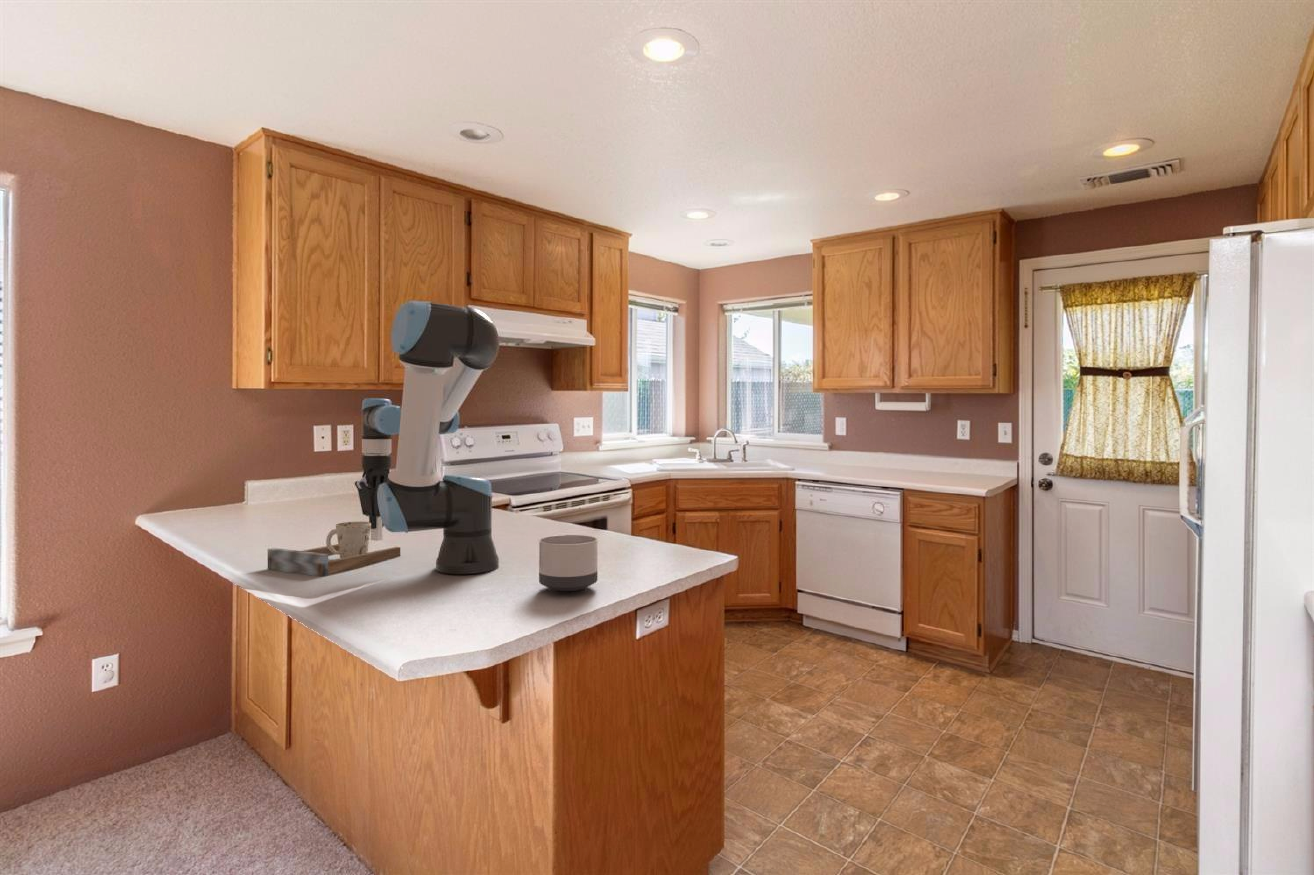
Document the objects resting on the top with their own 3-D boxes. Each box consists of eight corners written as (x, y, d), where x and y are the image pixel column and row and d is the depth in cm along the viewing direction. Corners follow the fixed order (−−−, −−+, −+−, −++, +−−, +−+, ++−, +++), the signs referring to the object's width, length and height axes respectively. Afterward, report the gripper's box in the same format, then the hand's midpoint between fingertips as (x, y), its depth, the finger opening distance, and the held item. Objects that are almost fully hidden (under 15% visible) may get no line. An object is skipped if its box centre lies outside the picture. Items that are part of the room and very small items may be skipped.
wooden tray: (400, 558, 177) (400, 539, 177) (322, 576, 155) (322, 555, 155) (348, 552, 185) (348, 534, 185) (267, 569, 163) (267, 548, 163)
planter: (545, 579, 153) (545, 534, 153) (600, 580, 153) (600, 535, 153) (533, 593, 140) (533, 544, 140) (593, 594, 140) (593, 544, 140)
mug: (357, 565, 168) (357, 526, 167) (314, 563, 170) (314, 524, 170) (377, 559, 176) (377, 522, 176) (336, 557, 178) (336, 520, 178)
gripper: (385, 453, 189) (384, 535, 190) (347, 455, 177) (346, 542, 178) (404, 454, 186) (404, 537, 187) (367, 456, 174) (367, 545, 175)
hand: (376, 539), depth 182 cm, fingers closed
